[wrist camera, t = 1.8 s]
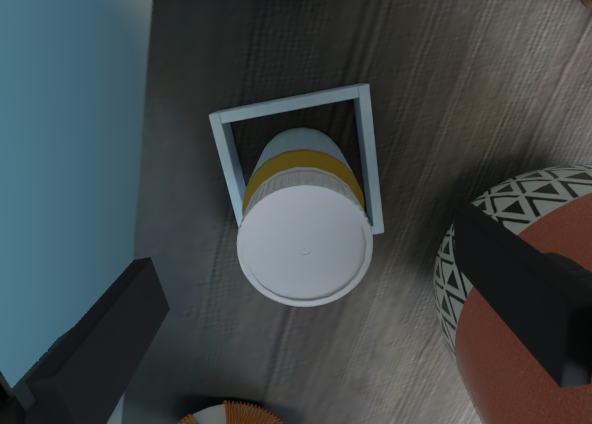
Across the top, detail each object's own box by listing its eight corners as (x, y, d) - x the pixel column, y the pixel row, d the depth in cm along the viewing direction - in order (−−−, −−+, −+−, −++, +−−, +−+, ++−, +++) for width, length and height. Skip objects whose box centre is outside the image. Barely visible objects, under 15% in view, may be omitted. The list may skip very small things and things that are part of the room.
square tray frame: (217, 110, 28) (208, 114, 25) (361, 82, 27) (369, 83, 24) (250, 240, 32) (245, 255, 29) (376, 219, 31) (384, 233, 29)
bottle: (345, 201, 31) (386, 306, 17) (266, 211, 31) (241, 321, 17) (339, 120, 28) (380, 164, 14) (253, 131, 29) (211, 185, 15)
